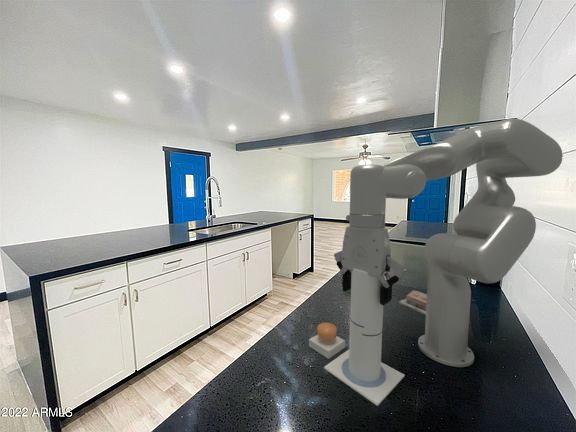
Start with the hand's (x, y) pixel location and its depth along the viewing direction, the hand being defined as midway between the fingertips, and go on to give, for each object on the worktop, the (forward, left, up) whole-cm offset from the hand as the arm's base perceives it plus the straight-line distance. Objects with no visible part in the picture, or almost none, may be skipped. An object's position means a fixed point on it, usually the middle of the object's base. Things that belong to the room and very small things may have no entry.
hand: (365, 295), depth 56 cm
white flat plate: (0, 0, -19) cm, 19 cm away
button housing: (-1, -12, -19) cm, 22 cm away
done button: (-1, -12, -15) cm, 19 cm away
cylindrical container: (0, 0, -18) cm, 18 cm away
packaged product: (-45, -2, -19) cm, 49 cm away
